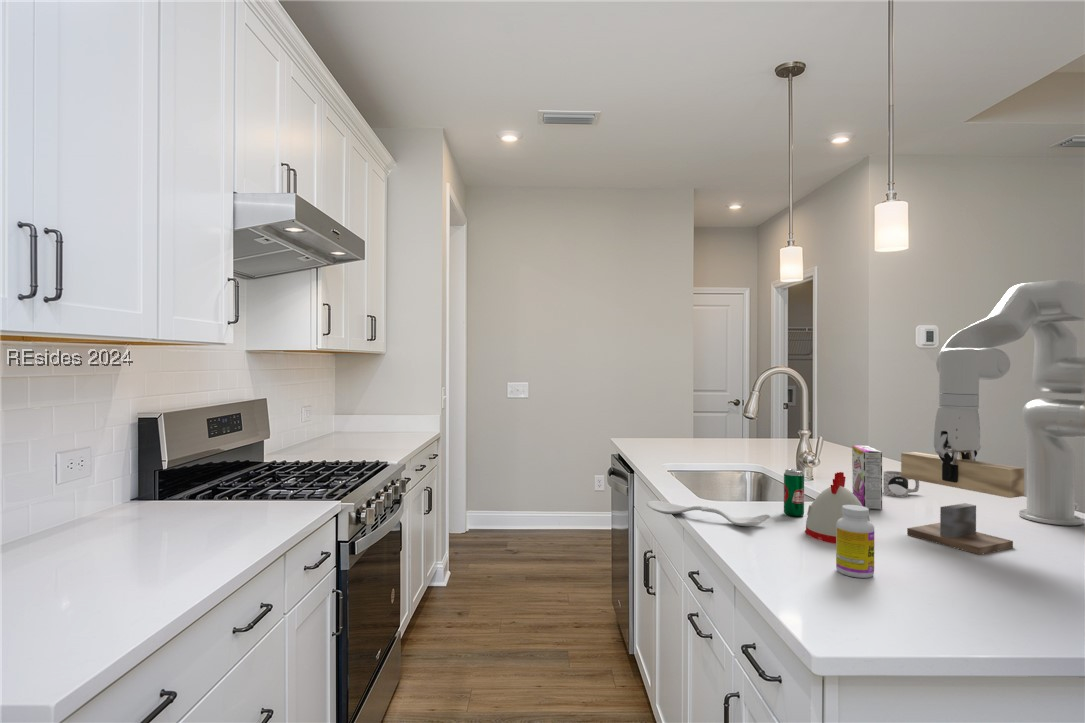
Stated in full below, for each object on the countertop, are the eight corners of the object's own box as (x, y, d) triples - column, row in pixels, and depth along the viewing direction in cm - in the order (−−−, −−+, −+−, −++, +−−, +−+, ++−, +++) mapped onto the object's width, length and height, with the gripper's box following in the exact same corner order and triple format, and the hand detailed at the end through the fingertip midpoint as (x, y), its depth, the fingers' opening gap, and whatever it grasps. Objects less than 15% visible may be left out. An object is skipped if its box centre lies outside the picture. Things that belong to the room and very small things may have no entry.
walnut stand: (939, 528, 146) (940, 496, 146) (1012, 547, 132) (1013, 511, 132) (907, 534, 142) (907, 501, 142) (979, 554, 127) (979, 517, 127)
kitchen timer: (878, 535, 141) (878, 472, 141) (861, 549, 131) (861, 481, 131) (817, 524, 151) (817, 465, 151) (797, 536, 140) (797, 473, 140)
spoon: (757, 535, 142) (758, 520, 142) (640, 513, 162) (640, 500, 162) (770, 527, 149) (770, 513, 149) (656, 506, 169) (656, 494, 169)
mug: (888, 496, 181) (888, 474, 181) (879, 491, 188) (879, 470, 188) (924, 497, 180) (924, 475, 180) (914, 492, 186) (914, 471, 186)
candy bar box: (851, 500, 176) (851, 445, 176) (869, 500, 175) (869, 445, 175) (863, 509, 165) (863, 450, 165) (883, 510, 164) (883, 451, 164)
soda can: (795, 518, 156) (795, 472, 156) (779, 514, 160) (779, 469, 160) (808, 516, 158) (808, 471, 158) (792, 511, 163) (792, 468, 163)
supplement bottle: (873, 581, 112) (873, 513, 112) (834, 574, 115) (834, 508, 115) (875, 571, 117) (875, 506, 117) (838, 564, 121) (838, 501, 121)
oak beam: (914, 475, 149) (914, 451, 149) (1024, 496, 127) (1024, 468, 127) (901, 477, 147) (901, 453, 147) (1010, 498, 125) (1010, 469, 125)
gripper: (964, 400, 143) (964, 475, 143) (918, 401, 137) (917, 480, 137) (999, 402, 137) (998, 481, 137) (951, 403, 130) (951, 486, 130)
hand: (957, 479), depth 137 cm, fingers closed on oak beam, 5 cm apart
